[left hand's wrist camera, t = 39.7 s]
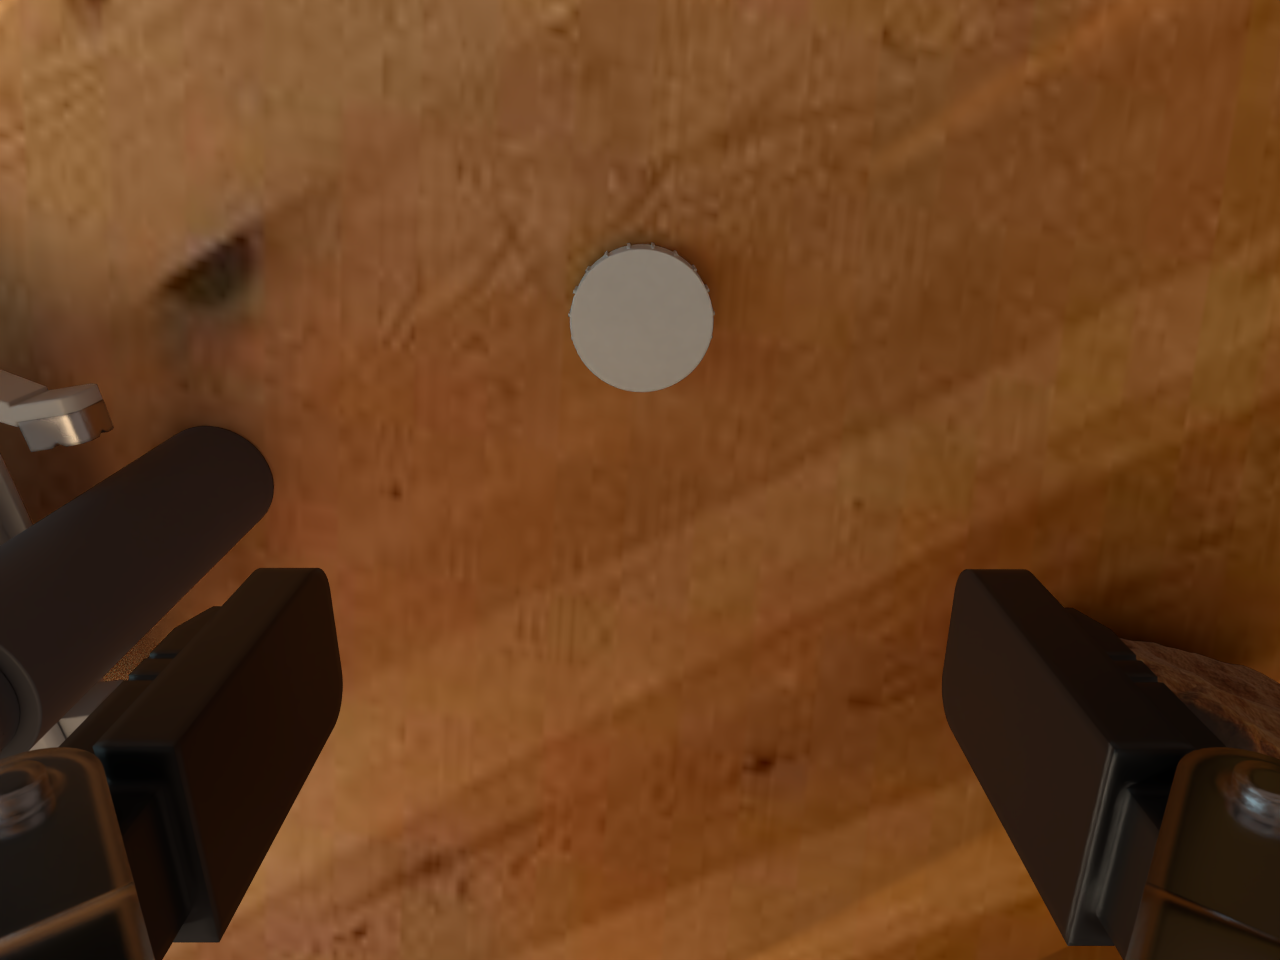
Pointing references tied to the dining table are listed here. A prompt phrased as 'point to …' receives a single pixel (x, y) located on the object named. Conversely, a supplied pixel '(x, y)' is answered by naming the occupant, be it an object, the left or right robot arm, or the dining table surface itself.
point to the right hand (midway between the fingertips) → (151, 549)
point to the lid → (641, 318)
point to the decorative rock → (1220, 695)
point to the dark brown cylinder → (116, 570)
